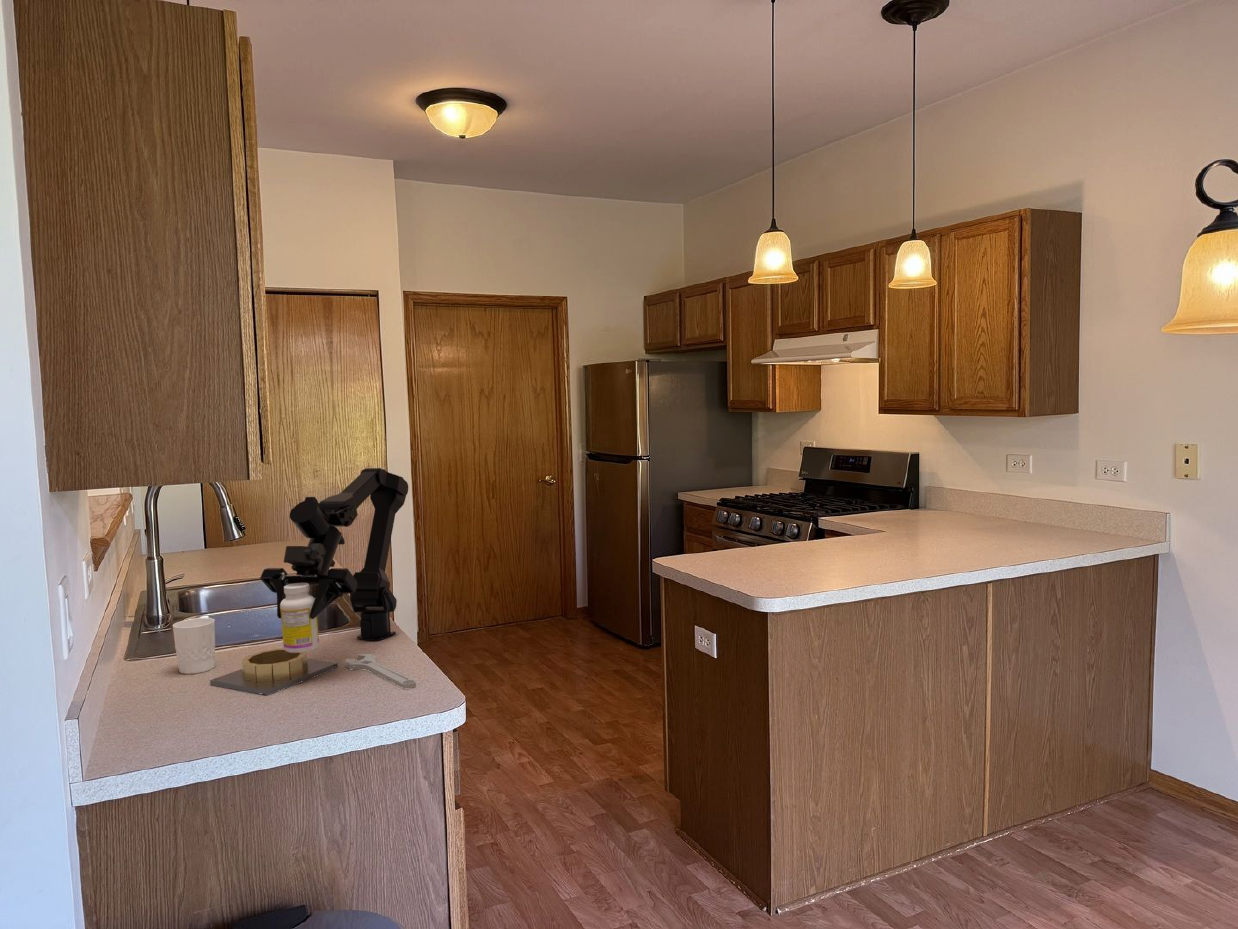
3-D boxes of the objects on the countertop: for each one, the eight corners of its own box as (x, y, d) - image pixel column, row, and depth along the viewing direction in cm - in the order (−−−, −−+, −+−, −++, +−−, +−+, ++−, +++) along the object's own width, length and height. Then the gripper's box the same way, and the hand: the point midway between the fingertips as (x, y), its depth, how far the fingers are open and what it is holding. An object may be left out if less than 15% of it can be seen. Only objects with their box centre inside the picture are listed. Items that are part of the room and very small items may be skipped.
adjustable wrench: (419, 689, 164) (418, 680, 164) (387, 697, 160) (386, 688, 160) (370, 659, 184) (369, 651, 184) (340, 666, 180) (340, 658, 180)
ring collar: (283, 659, 185) (282, 641, 185) (338, 667, 178) (336, 648, 178) (210, 685, 169) (208, 665, 169) (267, 695, 162) (265, 675, 162)
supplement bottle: (299, 642, 174) (294, 580, 173) (326, 644, 172) (321, 581, 171) (276, 652, 168) (271, 588, 167) (303, 655, 166) (298, 589, 165)
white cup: (169, 676, 176) (165, 628, 175) (186, 664, 184) (183, 618, 183) (207, 674, 176) (204, 626, 175) (224, 662, 184) (220, 617, 183)
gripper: (261, 529, 173) (231, 596, 164) (346, 528, 170) (321, 597, 160) (286, 559, 182) (259, 624, 172) (367, 559, 178) (345, 626, 169)
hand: (295, 617), depth 168 cm, fingers closed on supplement bottle, 7 cm apart
